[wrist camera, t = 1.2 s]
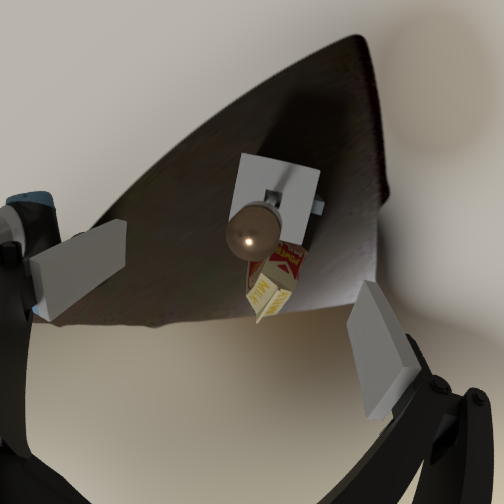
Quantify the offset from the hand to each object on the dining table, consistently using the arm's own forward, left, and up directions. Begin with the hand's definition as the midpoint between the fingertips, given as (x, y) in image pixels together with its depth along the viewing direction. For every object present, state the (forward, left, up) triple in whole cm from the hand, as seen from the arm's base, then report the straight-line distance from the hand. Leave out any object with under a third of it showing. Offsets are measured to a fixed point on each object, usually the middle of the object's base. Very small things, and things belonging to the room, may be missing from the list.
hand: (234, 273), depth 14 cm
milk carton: (+3, -13, -40) cm, 43 cm away
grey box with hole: (0, 0, -40) cm, 40 cm away
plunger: (0, 0, -31) cm, 31 cm away
